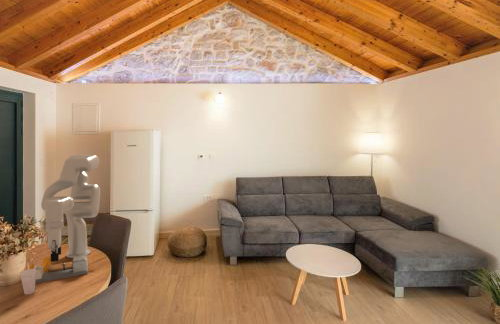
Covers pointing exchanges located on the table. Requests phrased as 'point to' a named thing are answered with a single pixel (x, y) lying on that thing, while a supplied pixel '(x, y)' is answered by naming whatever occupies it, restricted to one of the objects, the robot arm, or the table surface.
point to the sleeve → (79, 264)
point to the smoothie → (28, 280)
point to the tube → (60, 267)
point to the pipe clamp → (45, 264)
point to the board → (59, 275)
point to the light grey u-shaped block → (39, 271)
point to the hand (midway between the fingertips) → (56, 257)
